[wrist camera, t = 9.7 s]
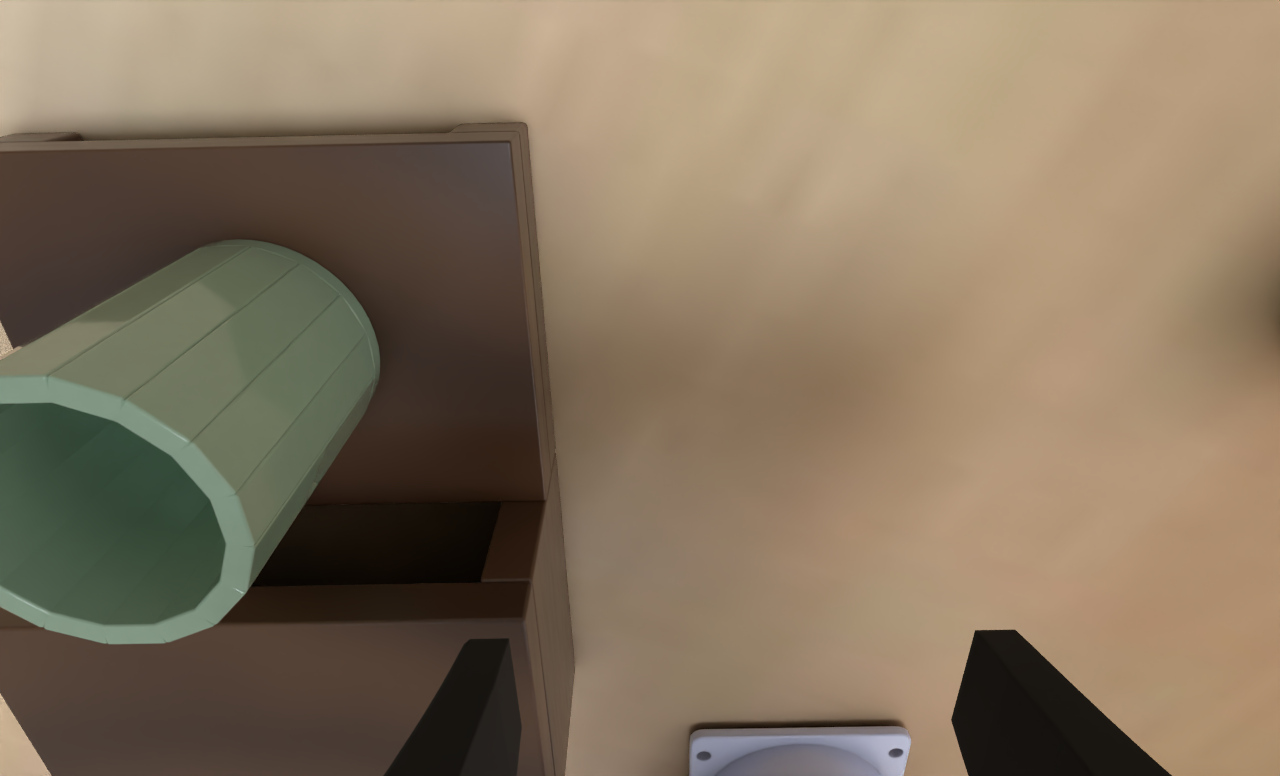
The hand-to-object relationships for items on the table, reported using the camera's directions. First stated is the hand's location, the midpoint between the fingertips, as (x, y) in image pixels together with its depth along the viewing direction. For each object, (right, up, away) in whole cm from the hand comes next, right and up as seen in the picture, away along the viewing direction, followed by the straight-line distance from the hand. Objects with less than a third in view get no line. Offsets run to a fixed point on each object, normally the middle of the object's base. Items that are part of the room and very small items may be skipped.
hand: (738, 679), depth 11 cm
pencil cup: (-10, +6, +5) cm, 13 cm away
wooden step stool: (-10, +3, +10) cm, 14 cm away
